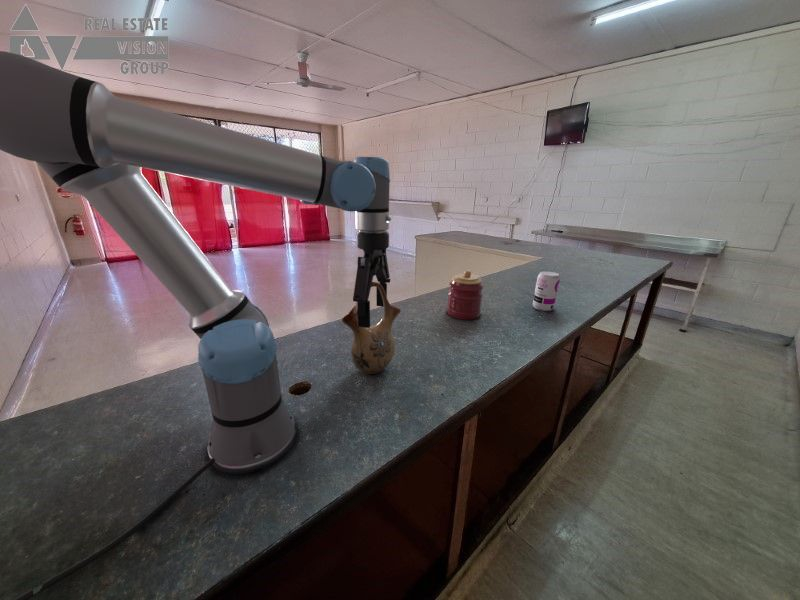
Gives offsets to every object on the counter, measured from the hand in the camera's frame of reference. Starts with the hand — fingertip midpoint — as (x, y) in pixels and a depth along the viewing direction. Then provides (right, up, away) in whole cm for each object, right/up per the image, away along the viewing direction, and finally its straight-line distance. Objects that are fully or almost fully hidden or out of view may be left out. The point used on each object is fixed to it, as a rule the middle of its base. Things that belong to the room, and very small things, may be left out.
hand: (373, 315), depth 80 cm
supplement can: (+67, 0, +53) cm, 85 cm away
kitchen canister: (+32, -2, +45) cm, 55 cm away
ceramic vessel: (-1, -15, +6) cm, 16 cm away
